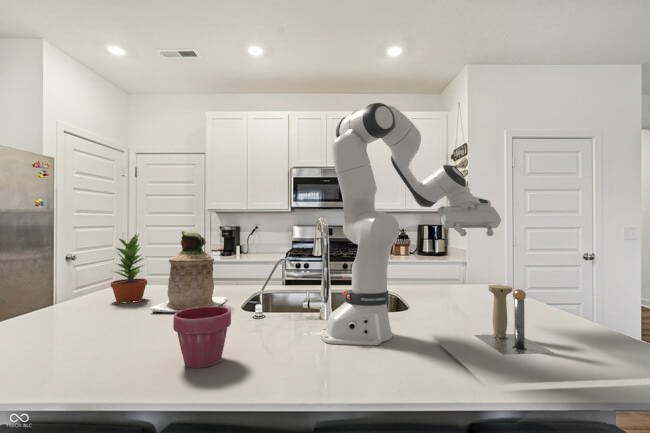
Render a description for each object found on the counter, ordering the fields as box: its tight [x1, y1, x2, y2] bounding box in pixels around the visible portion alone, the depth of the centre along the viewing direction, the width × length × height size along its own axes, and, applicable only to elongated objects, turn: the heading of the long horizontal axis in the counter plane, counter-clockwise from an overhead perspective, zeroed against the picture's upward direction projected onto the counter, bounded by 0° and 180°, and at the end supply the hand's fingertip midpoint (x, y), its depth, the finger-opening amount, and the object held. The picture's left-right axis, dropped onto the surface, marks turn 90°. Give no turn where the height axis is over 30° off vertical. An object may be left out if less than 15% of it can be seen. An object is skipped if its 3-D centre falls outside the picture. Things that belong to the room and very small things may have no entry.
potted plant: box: [110, 233, 148, 303], centre depth 165 cm, size 15×15×30 cm
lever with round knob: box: [512, 288, 527, 350], centre depth 100 cm, size 3×3×16 cm
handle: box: [487, 284, 513, 338], centre depth 110 cm, size 5×6×15 cm
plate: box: [473, 333, 555, 355], centre depth 104 cm, size 14×16×1 cm
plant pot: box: [172, 305, 232, 369], centre depth 95 cm, size 14×14×13 cm
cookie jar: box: [149, 230, 228, 314], centre depth 154 cm, size 25×25×32 cm
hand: (477, 234), depth 124 cm, fingers open, 8 cm apart
